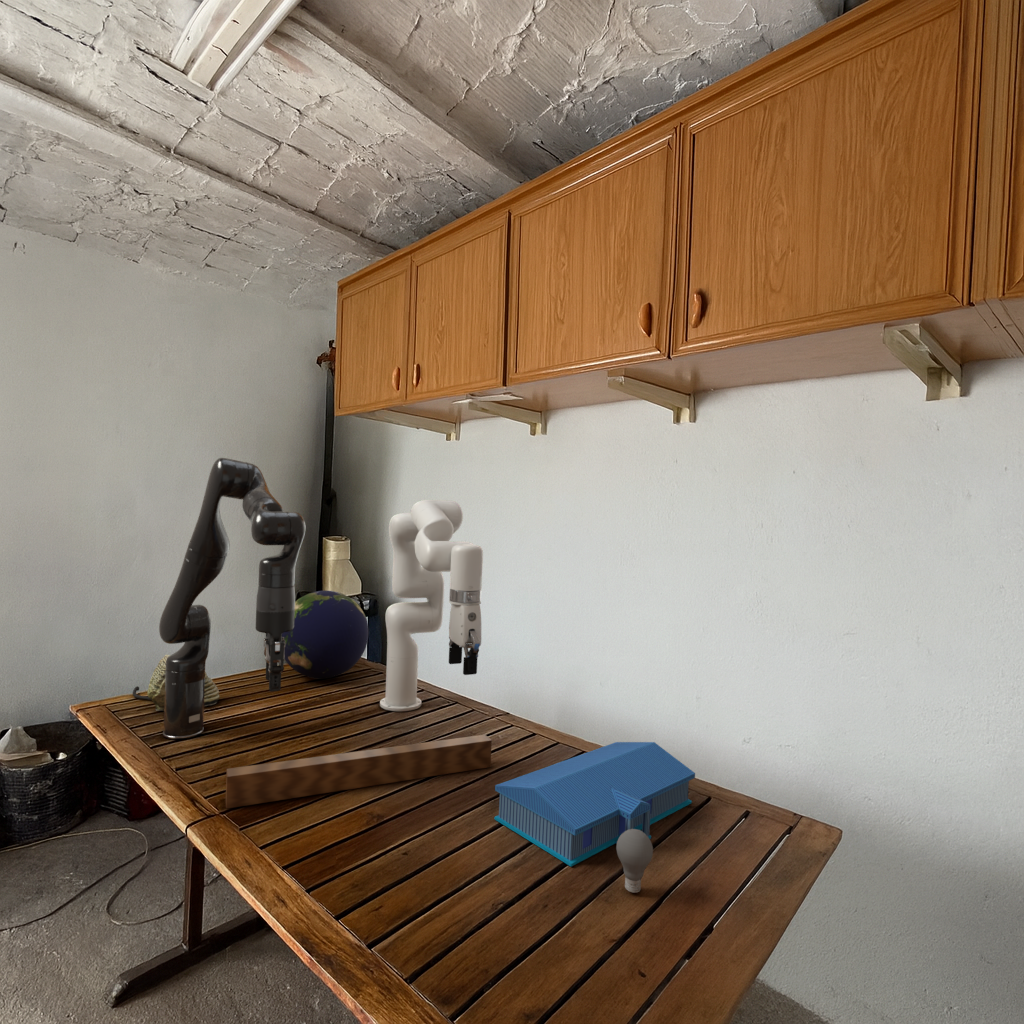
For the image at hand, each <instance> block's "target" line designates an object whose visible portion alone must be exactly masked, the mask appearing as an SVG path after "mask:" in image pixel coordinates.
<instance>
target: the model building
mask: <svg viewBox="0 0 1024 1024" xmlns="http://www.w3.org/2000/svg"><path fill="white" fill-rule="evenodd" d="M695 778H696V772H694V771H693V770H692V769H690V768H689V767H688V766H687V765H685V764H684V763H683V762H681V761H680V760H678V758H676V757H675V756H674V755H672V754H670V753H669V752H668V751H667V750H665V749H664V748H663V747H662V746H660V745H659V744H658V743H656V742H655V741H615V742H613V743H610V744H606V745H603V746H601V747H599V748H596V749H594V750H590V751H587V752H584V753H582V754H579V755H576V756H573V757H570V758H567V759H565V760H562V761H560V762H559V761H558V762H556V763H553V764H551V765H549V766H548V765H547V766H546V767H543V768H541V769H537V770H534V771H531V772H529V773H526V774H523V775H520V776H518V777H515V778H511V779H509V780H507V781H503V782H501V783H498V784H495V785H494V791H495V792H496V793H498V794H499V801H498V802H499V803H498V804H499V805H498V814H497V815H495V816H494V818H493V819H494V821H496V822H498V823H499V824H501V825H503V826H505V827H506V828H508V829H509V830H510V831H513V832H514V833H515V834H517V835H519V836H520V837H522V838H524V839H525V840H527V841H529V842H530V843H532V844H534V845H535V846H537V847H538V848H540V849H542V850H543V851H545V852H546V853H548V854H550V855H551V856H552V857H555V858H556V859H558V860H559V861H561V862H563V863H564V864H566V865H567V866H569V867H572V868H573V866H575V865H577V864H579V863H582V862H583V861H585V860H587V859H589V858H590V857H593V856H594V855H596V854H598V853H600V852H602V851H604V850H606V849H607V848H608V849H609V848H610V847H612V846H613V845H615V844H616V845H617V841H618V839H619V837H620V835H621V834H622V833H623V832H625V831H627V830H629V829H637V830H640V831H642V832H644V833H645V834H646V835H647V836H648V838H649V839H650V840H652V835H651V834H650V829H651V828H650V827H651V825H653V824H655V823H657V822H658V821H661V820H663V819H665V818H666V817H668V816H670V815H672V814H674V813H675V812H678V811H679V810H681V809H683V808H685V807H687V806H689V805H691V804H693V800H691V799H689V786H690V785H689V784H690V783H689V782H690V781H692V780H693V779H695Z"/></svg>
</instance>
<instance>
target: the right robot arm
mask: <svg viewBox="0 0 1024 1024" xmlns="http://www.w3.org/2000/svg"><path fill="white" fill-rule="evenodd" d="M463 519H464V513H463V509H462V507H461V506H460V504H459V503H458V502H456V501H454V500H448V499H421V500H418V501H417V502H415V503H414V504H413V505H412V506H411V509H410V512H400V513H396V514H394V515H393V516H391V518H390V520H389V524H388V534H389V535H388V536H389V539H390V543H391V547H392V550H393V552H392V553H393V558H392V559H393V560H392V576H391V577H392V578H391V585H392V586H391V589H392V593H393V595H394V596H395V597H396V598H399V599H426V601H403V602H396V603H395V602H394V603H392V604H391V605H389V606H388V607H387V609H386V611H385V615H384V617H385V627H386V642H387V643H386V670H385V671H386V673H385V694H384V696H385V697H383V698H381V699H380V701H379V707H380V708H381V709H382V710H386V711H388V712H389V711H390V712H411V711H414V710H417V709H419V708H420V707H422V700H421V699H420V698H419V697H418V675H419V646H418V644H417V642H416V640H414V639H413V637H412V635H415V634H427V633H436V632H437V631H440V629H441V627H442V625H443V618H444V602H445V577H444V575H443V573H445V572H446V573H449V572H450V574H449V597H448V598H449V599H448V603H449V604H451V605H450V611H449V622H448V639H449V642H448V664H449V665H460V664H463V665H462V666H463V667H462V674H463V675H464V676H469V675H470V676H472V675H476V674H477V673H478V657H479V652H480V647H481V645H482V611H481V604H482V587H483V563H484V549H483V548H482V547H481V546H480V545H478V544H474V543H472V542H470V541H463V540H461V541H459V540H458V541H456V540H455V541H454V540H451V539H452V537H453V536H454V534H455V533H457V531H458V530H459V529H460V528H461V526H462V524H463V521H464V520H463ZM463 652H464V657H463ZM462 661H463V663H462Z"/></svg>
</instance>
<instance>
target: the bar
mask: <svg viewBox="0 0 1024 1024" xmlns="http://www.w3.org/2000/svg"><path fill="white" fill-rule="evenodd" d="M492 741H493V740H492V739H491V738H490V737H488V736H487V734H479V735H472V736H471V735H470V736H464V737H456V738H447V739H441V740H434V741H426V742H419V743H412V744H404V745H403V744H402V745H396V746H389V747H381V748H374V749H365V750H358V751H357V750H356V751H350V752H343V753H337V754H335V753H334V754H328V755H320V756H313V757H312V756H311V757H306V758H298V759H290V760H283V761H282V760H281V761H275V762H268V763H260V764H251V765H245V766H238V767H230V768H226V771H225V772H226V773H225V774H226V775H225V809H226V810H227V809H233V808H238V807H247V806H252V805H258V804H264V803H265V804H266V803H271V802H272V803H273V802H278V801H284V800H291V799H296V798H304V797H310V796H317V795H322V794H327V793H334V792H341V791H346V790H347V791H348V790H353V789H360V788H366V787H372V786H379V785H385V784H393V783H398V782H404V781H410V780H417V779H423V778H429V777H436V776H441V775H448V774H449V775H450V774H454V773H455V774H456V773H461V772H468V771H474V770H479V769H481V770H482V769H486V768H491V767H492V766H491V765H492Z"/></svg>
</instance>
